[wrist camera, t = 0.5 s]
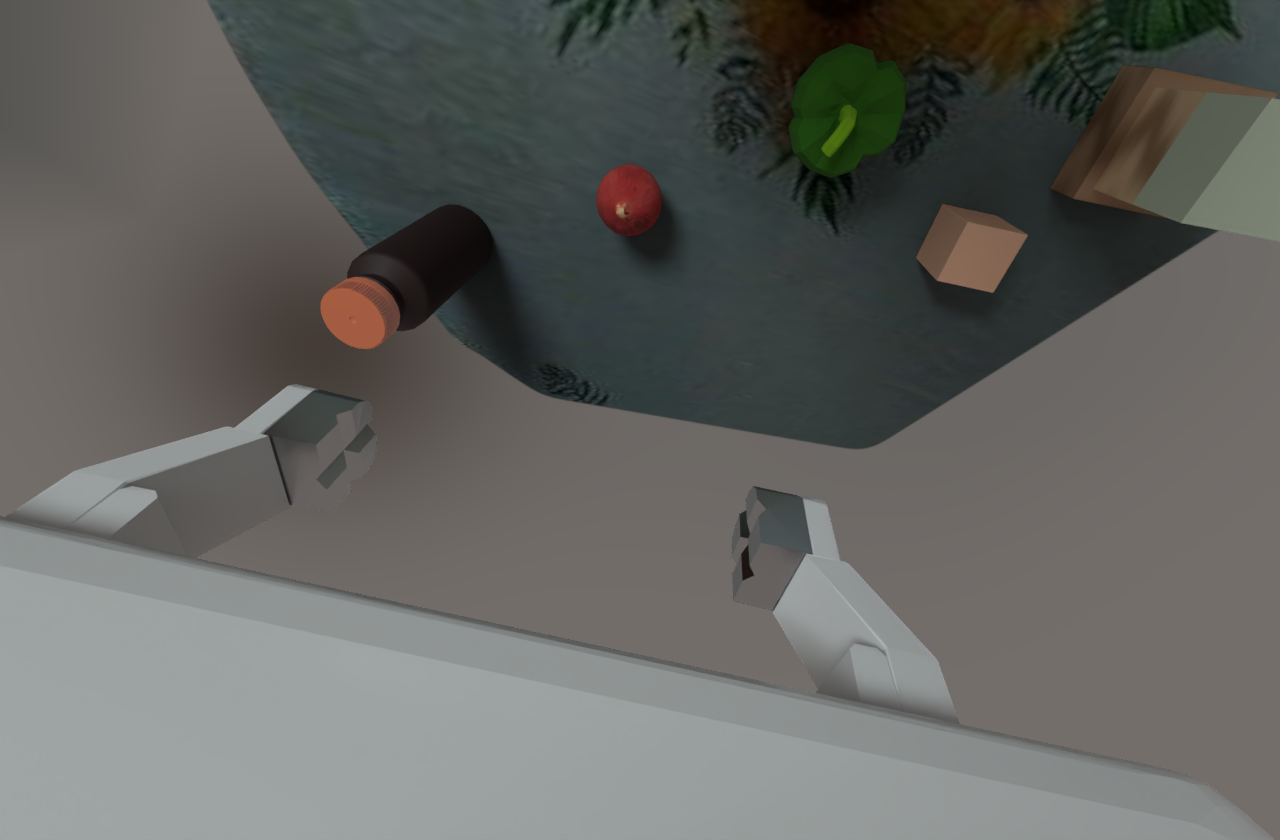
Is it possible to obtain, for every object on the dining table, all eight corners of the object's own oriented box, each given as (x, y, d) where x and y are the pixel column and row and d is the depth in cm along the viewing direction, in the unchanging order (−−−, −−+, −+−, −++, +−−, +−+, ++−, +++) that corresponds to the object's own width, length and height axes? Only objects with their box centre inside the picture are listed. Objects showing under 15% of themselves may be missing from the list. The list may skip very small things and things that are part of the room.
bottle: (453, 279, 58) (350, 371, 41) (415, 219, 54) (286, 294, 38) (505, 256, 55) (417, 344, 39) (468, 192, 52) (356, 260, 36)
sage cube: (1207, 92, 34) (1272, 98, 30) (1315, 112, 34) (1394, 121, 30) (1132, 204, 38) (1180, 222, 34) (1228, 222, 38) (1288, 243, 34)
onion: (676, 201, 50) (670, 225, 44) (627, 234, 53) (615, 262, 46) (642, 144, 48) (630, 160, 41) (592, 181, 50) (573, 202, 44)
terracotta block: (942, 203, 48) (967, 222, 43) (996, 215, 48) (1028, 235, 43) (915, 257, 51) (936, 280, 46) (966, 268, 51) (993, 292, 46)
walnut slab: (1120, 65, 41) (1154, 67, 38) (1234, 89, 41) (1278, 93, 38) (1048, 187, 46) (1072, 198, 43) (1149, 208, 46) (1181, 221, 43)
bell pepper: (860, 18, 41) (896, 12, 33) (898, 119, 44) (938, 137, 36) (761, 89, 44) (770, 100, 36) (803, 178, 48) (820, 206, 40)
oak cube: (1155, 87, 38) (1207, 92, 34) (1252, 105, 38) (1315, 112, 34) (1092, 189, 42) (1131, 204, 38) (1179, 205, 42) (1228, 222, 38)
